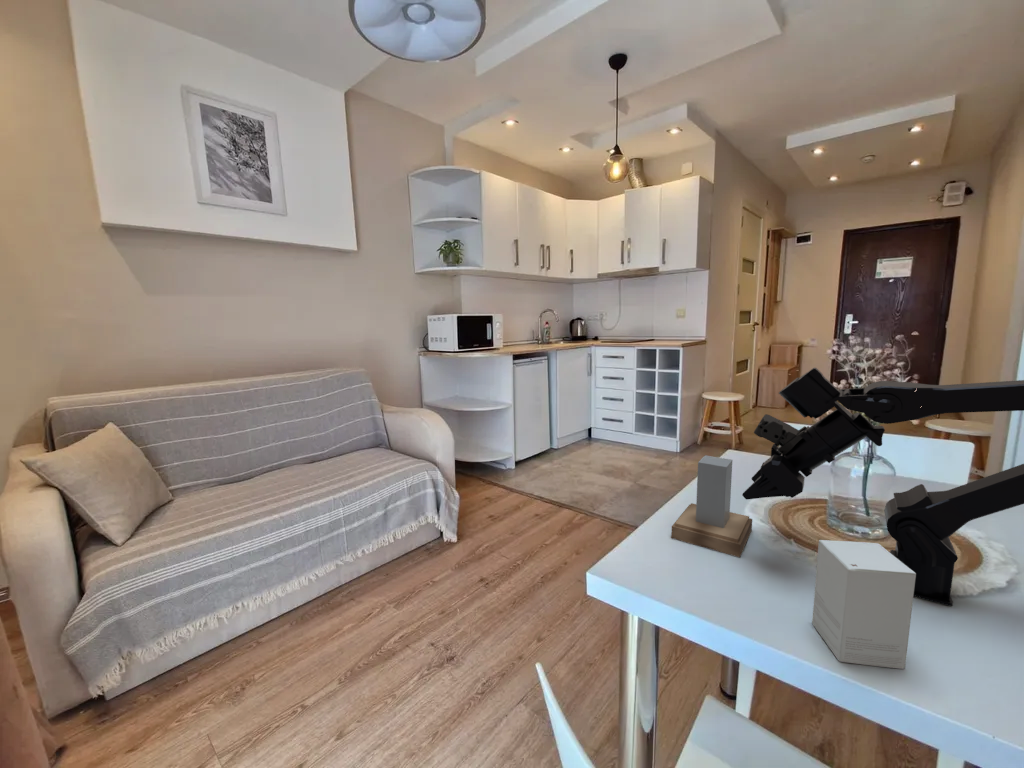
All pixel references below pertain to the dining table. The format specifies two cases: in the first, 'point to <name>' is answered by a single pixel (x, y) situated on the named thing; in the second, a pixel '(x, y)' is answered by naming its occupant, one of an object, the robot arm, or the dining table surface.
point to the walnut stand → (713, 532)
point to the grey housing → (713, 491)
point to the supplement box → (863, 603)
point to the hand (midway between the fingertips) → (748, 488)
